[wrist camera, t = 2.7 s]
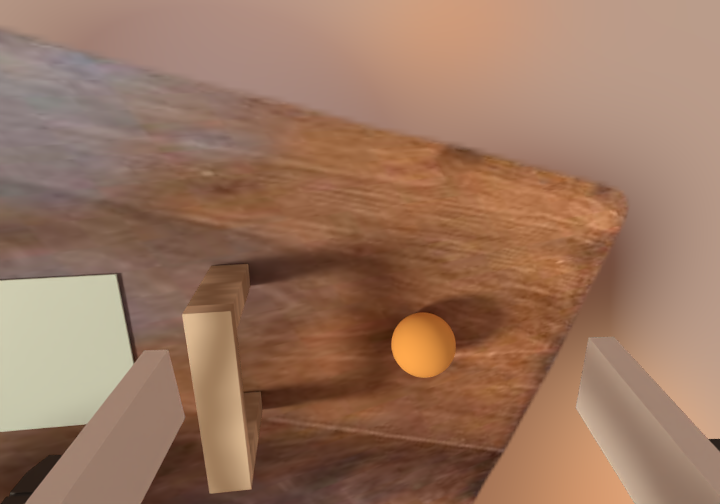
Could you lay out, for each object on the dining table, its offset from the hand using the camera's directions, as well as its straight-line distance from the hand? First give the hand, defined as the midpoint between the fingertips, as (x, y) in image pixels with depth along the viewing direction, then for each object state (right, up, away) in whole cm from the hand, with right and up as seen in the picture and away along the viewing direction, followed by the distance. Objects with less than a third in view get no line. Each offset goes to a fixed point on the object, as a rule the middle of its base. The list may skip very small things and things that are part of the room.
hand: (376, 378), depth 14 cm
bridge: (-11, -4, +25) cm, 28 cm away
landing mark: (-27, -5, +23) cm, 36 cm away
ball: (+5, -4, +24) cm, 25 cm away
